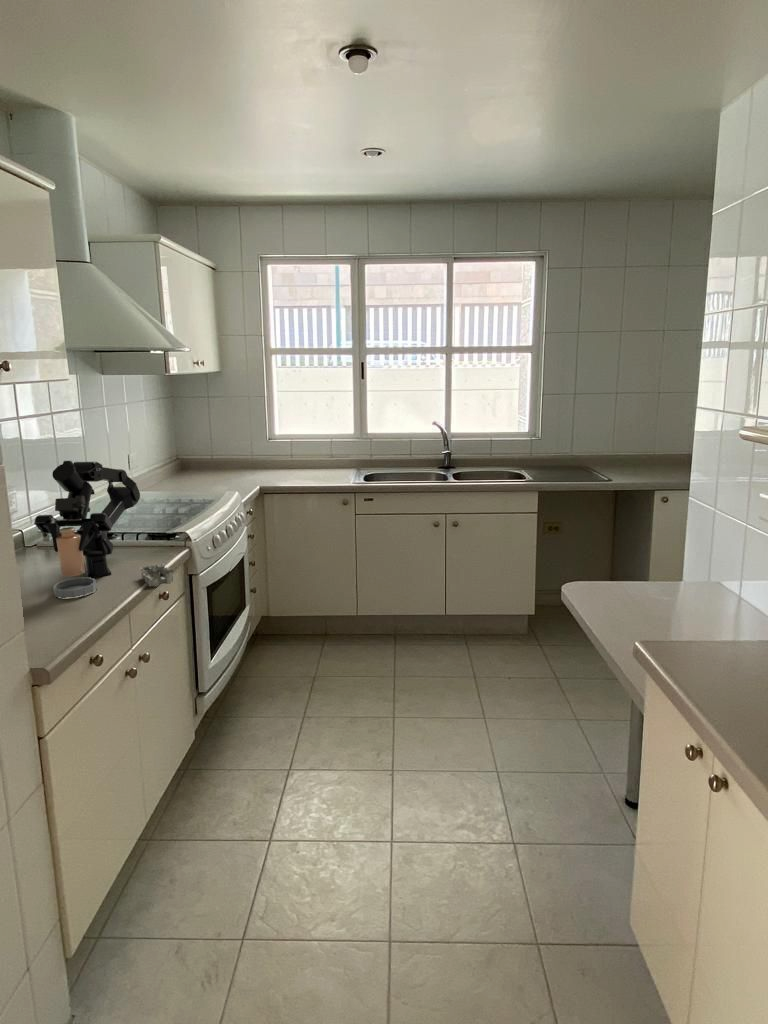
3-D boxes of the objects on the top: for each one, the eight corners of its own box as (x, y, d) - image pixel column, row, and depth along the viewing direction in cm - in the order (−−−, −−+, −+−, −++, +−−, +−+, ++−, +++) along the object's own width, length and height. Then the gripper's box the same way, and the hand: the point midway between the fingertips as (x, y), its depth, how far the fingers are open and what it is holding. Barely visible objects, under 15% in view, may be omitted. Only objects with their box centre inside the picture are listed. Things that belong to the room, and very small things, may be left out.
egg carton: (175, 583, 189) (174, 570, 188) (148, 589, 185) (146, 575, 184) (166, 573, 198) (165, 559, 197) (140, 578, 194) (138, 564, 193)
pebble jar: (63, 570, 184) (56, 527, 181) (87, 567, 185) (81, 525, 182) (59, 577, 178) (52, 533, 175) (84, 574, 180) (77, 531, 177)
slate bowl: (52, 590, 185) (51, 582, 184) (92, 583, 190) (91, 574, 189) (57, 602, 176) (56, 593, 176) (100, 593, 182) (98, 585, 181)
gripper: (31, 486, 179) (18, 537, 171) (102, 483, 180) (93, 535, 172) (48, 507, 189) (37, 557, 181) (116, 505, 190) (107, 554, 182)
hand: (68, 550), depth 179 cm, fingers closed on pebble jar, 6 cm apart
